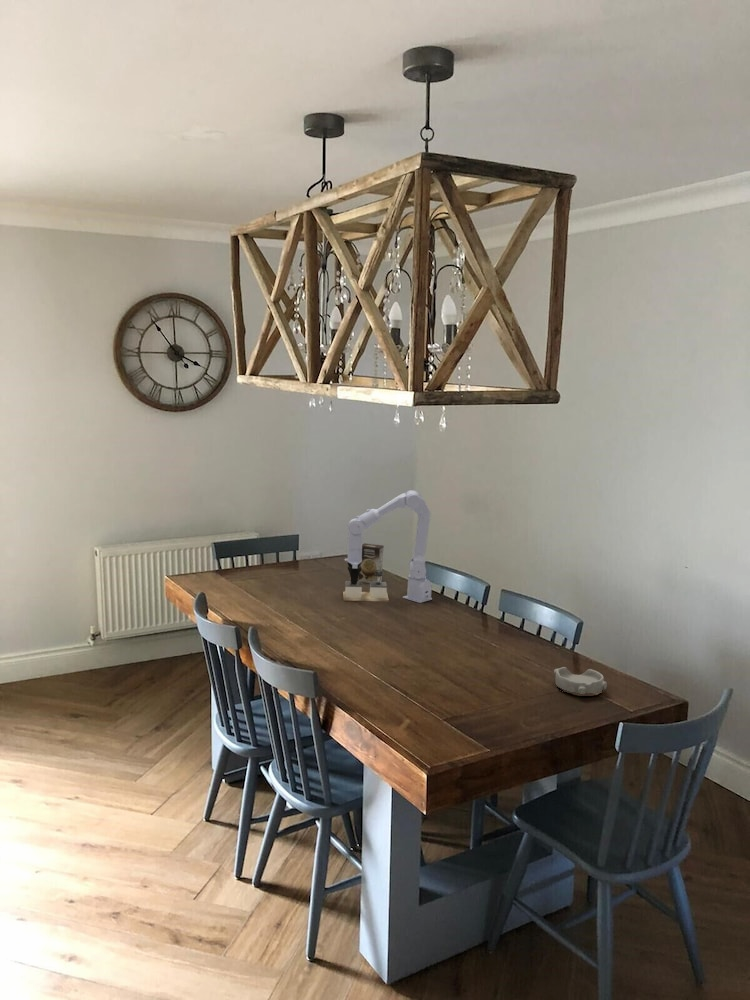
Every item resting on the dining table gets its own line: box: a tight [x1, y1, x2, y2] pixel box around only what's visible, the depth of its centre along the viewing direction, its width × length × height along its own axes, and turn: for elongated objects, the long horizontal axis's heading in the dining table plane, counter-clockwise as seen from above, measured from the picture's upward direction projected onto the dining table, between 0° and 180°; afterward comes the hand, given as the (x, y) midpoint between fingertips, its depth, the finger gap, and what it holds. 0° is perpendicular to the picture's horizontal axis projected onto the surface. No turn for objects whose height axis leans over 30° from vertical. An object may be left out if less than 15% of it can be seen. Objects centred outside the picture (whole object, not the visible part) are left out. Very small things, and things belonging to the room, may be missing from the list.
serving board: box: [342, 591, 390, 602], centre depth 328 cm, size 18×10×1 cm, turn 93°
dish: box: [553, 666, 608, 694], centre depth 241 cm, size 14×14×5 cm
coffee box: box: [358, 543, 385, 584], centre depth 351 cm, size 9×6×16 cm
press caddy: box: [344, 580, 388, 598], centre depth 328 cm, size 17×7×5 cm, turn 93°
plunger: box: [375, 569, 384, 584], centre depth 327 cm, size 3×3×6 cm
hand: (353, 581), depth 327 cm, fingers open, 7 cm apart
